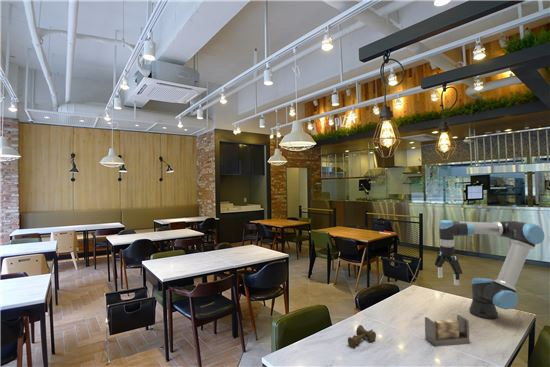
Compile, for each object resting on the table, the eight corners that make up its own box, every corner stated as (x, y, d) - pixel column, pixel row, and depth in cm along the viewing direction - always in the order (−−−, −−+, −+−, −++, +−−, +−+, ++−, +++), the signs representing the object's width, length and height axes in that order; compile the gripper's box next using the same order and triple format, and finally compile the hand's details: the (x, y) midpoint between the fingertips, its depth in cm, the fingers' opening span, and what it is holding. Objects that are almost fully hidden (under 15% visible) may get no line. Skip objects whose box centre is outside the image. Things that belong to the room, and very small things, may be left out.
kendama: (343, 344, 155) (365, 331, 168) (358, 352, 148) (380, 338, 160) (343, 333, 155) (365, 321, 167) (358, 341, 148) (380, 328, 160)
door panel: (455, 337, 158) (454, 319, 158) (459, 340, 155) (458, 321, 155) (434, 339, 157) (434, 320, 157) (438, 342, 153) (438, 323, 154)
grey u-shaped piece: (459, 336, 160) (459, 314, 160) (469, 343, 153) (468, 320, 153) (425, 339, 158) (424, 317, 158) (433, 346, 151) (433, 323, 151)
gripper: (427, 242, 186) (428, 275, 186) (456, 250, 161) (458, 288, 161) (438, 241, 187) (439, 274, 187) (468, 250, 162) (470, 287, 162)
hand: (448, 281), depth 174 cm, fingers open, 13 cm apart
